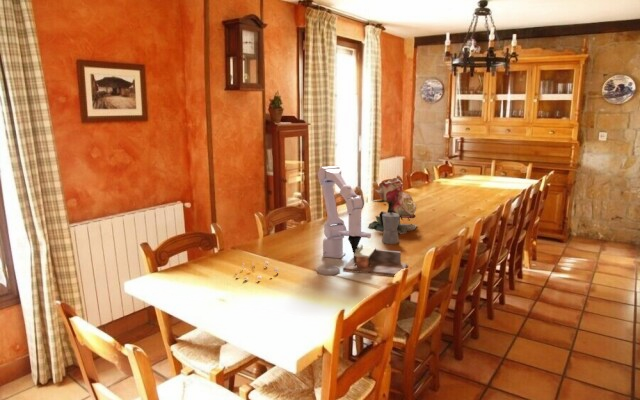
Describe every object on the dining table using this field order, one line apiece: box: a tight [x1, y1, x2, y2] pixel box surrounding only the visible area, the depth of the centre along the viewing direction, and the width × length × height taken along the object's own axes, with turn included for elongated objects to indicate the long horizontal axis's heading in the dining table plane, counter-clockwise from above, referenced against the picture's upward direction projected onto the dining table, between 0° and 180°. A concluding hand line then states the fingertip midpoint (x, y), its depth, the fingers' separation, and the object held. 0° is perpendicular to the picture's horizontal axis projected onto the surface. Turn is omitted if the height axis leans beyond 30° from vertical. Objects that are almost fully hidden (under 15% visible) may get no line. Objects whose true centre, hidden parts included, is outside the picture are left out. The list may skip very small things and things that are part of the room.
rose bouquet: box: [367, 177, 418, 235], centre depth 274 cm, size 26×29×30 cm
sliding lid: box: [353, 244, 377, 258], centre depth 208 cm, size 7×13×2 cm, turn 160°
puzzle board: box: [342, 248, 408, 277], centre depth 207 cm, size 26×15×7 cm, turn 70°
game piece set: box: [235, 260, 279, 280], centre depth 202 cm, size 19×20×4 cm
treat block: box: [356, 257, 369, 268], centre depth 209 cm, size 4×4×6 cm
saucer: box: [316, 264, 341, 276], centre depth 204 cm, size 10×10×1 cm
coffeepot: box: [378, 209, 401, 245], centre depth 247 cm, size 15×9×18 cm, turn 33°
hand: (354, 251), depth 210 cm, fingers closed
